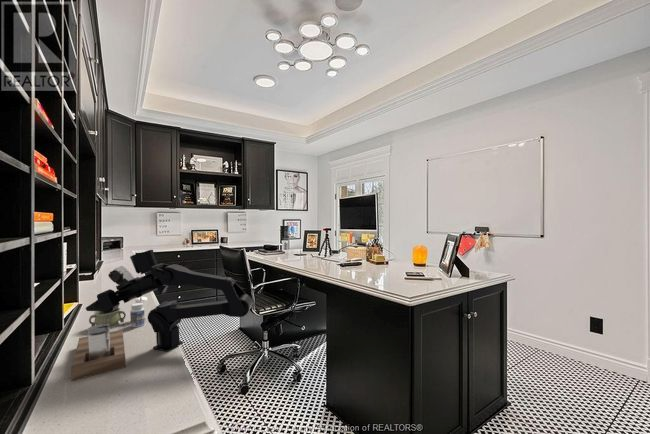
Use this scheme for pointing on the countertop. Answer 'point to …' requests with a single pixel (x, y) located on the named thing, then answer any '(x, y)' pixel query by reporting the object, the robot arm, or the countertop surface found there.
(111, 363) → the plate
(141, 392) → the countertop surface
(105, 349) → the silver cylindrical piece
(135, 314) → the pill bottle
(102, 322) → the vessel
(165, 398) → the countertop surface
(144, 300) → the white supplement bottle
